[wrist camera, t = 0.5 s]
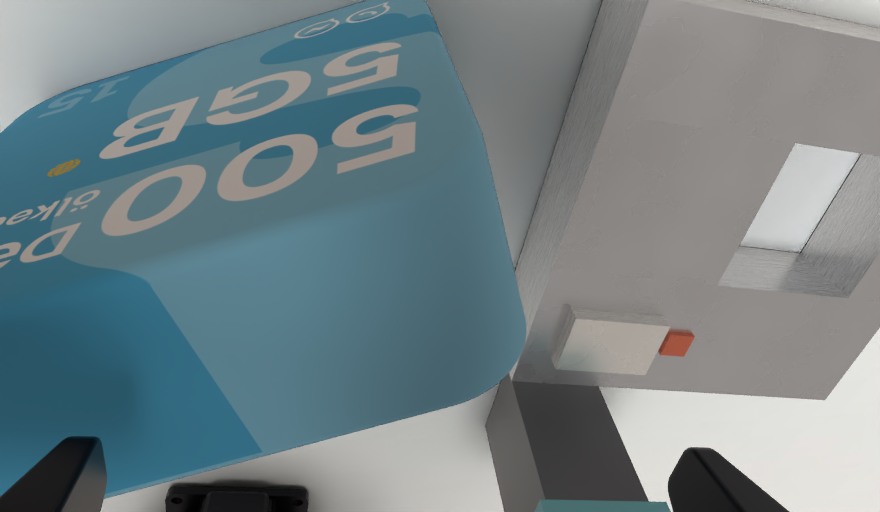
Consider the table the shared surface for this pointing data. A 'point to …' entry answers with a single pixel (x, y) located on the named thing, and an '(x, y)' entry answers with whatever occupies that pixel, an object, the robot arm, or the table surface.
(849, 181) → the faceplate
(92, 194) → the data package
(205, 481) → the table surface
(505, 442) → the plug
